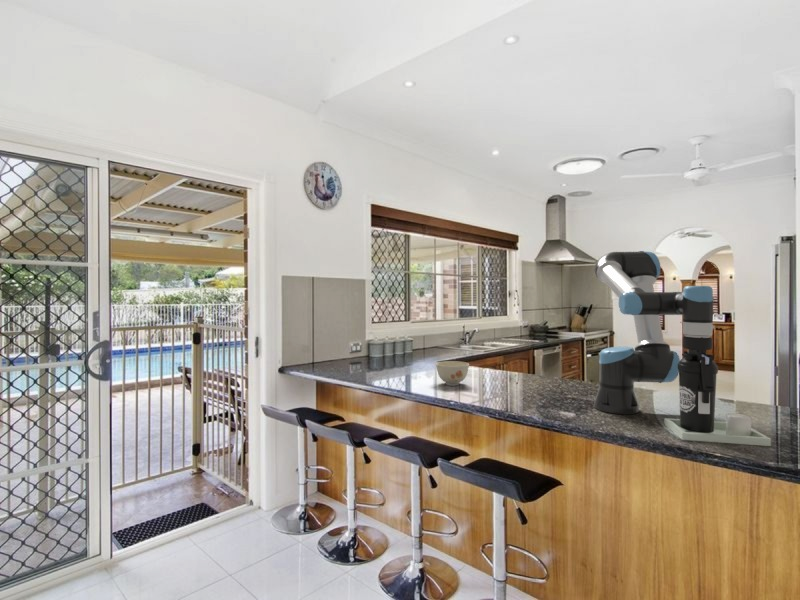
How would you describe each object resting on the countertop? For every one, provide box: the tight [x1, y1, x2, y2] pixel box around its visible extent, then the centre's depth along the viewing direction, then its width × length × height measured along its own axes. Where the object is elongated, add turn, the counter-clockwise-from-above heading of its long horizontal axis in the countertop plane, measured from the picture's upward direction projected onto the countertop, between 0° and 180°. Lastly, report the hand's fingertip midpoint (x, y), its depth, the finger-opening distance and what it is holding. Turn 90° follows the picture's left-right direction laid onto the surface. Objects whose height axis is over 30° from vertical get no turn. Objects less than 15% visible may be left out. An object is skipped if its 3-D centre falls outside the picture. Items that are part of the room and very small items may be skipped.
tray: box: [663, 417, 772, 447], centre depth 130 cm, size 22×15×3 cm
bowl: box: [435, 360, 470, 387], centre depth 206 cm, size 16×16×10 cm
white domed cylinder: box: [725, 413, 752, 436], centre depth 128 cm, size 6×6×6 cm
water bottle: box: [678, 353, 719, 433], centre depth 131 cm, size 10×10×23 cm
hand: (696, 408), depth 131 cm, fingers closed on water bottle, 9 cm apart
